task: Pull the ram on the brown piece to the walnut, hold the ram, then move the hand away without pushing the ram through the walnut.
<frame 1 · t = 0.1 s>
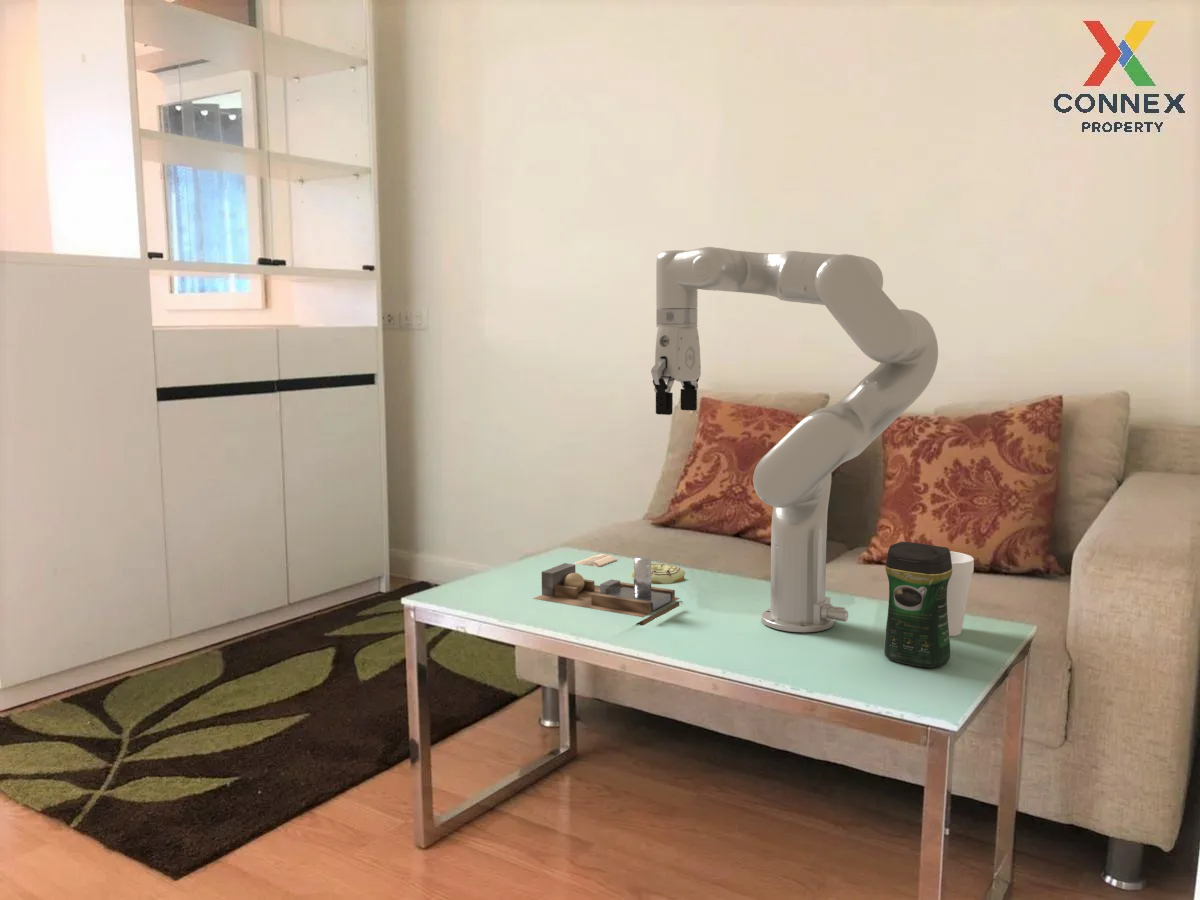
hand: (676, 412, 182), 37 cm above the table, tool pointing down, fingers open, 9 cm apart
brown piece: (606, 605, 185), on the table
newspaper: (578, 574, 213), on the table
coffee jar: (916, 660, 154), on the table
ram: (633, 579, 181), point 6 cm above the table, slide at 0.0 cm
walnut: (574, 593, 189), point 1 cm above the table, touching brown piece
foam cup: (941, 631, 168), on the table
decorated donut: (658, 585, 201), on the table
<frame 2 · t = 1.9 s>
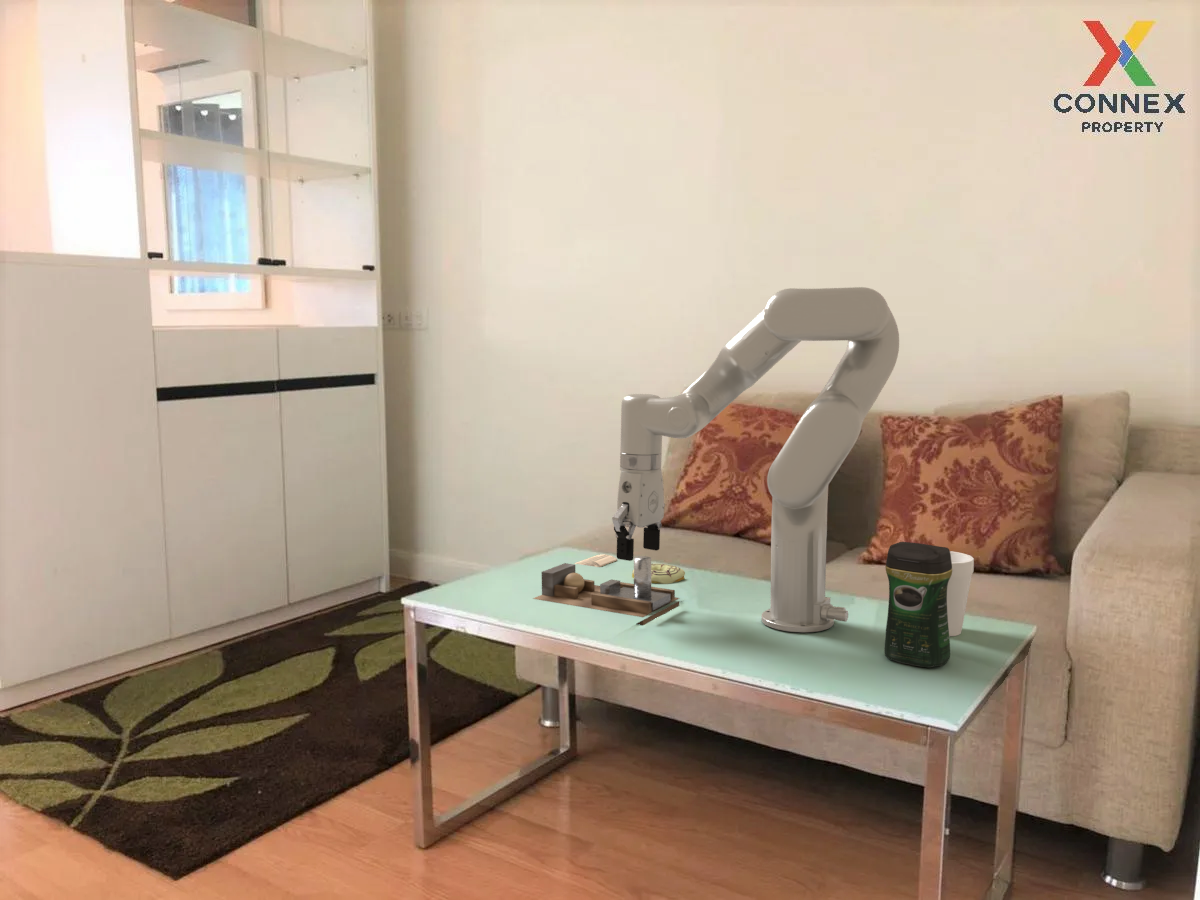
hand: (638, 554, 180), 11 cm above the table, tool pointing down, fingers open, 9 cm apart
nothing on the table moved.
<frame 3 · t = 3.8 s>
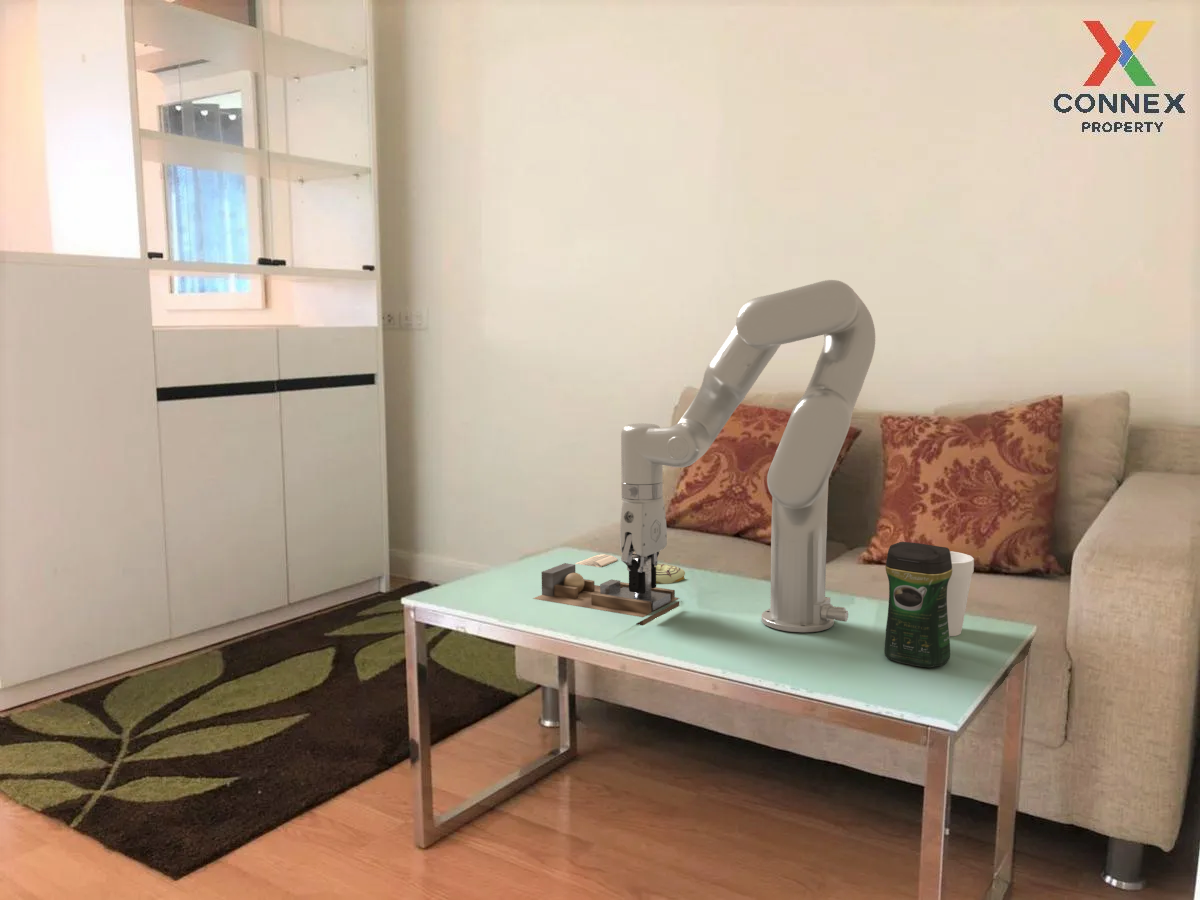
hand: (642, 588, 181), 4 cm above the table, tool pointing down, fingers closed on ram, 3 cm apart
ram: (633, 579, 181), point 6 cm above the table, slide at 0.0 cm, touching gripper
everything else where it was.
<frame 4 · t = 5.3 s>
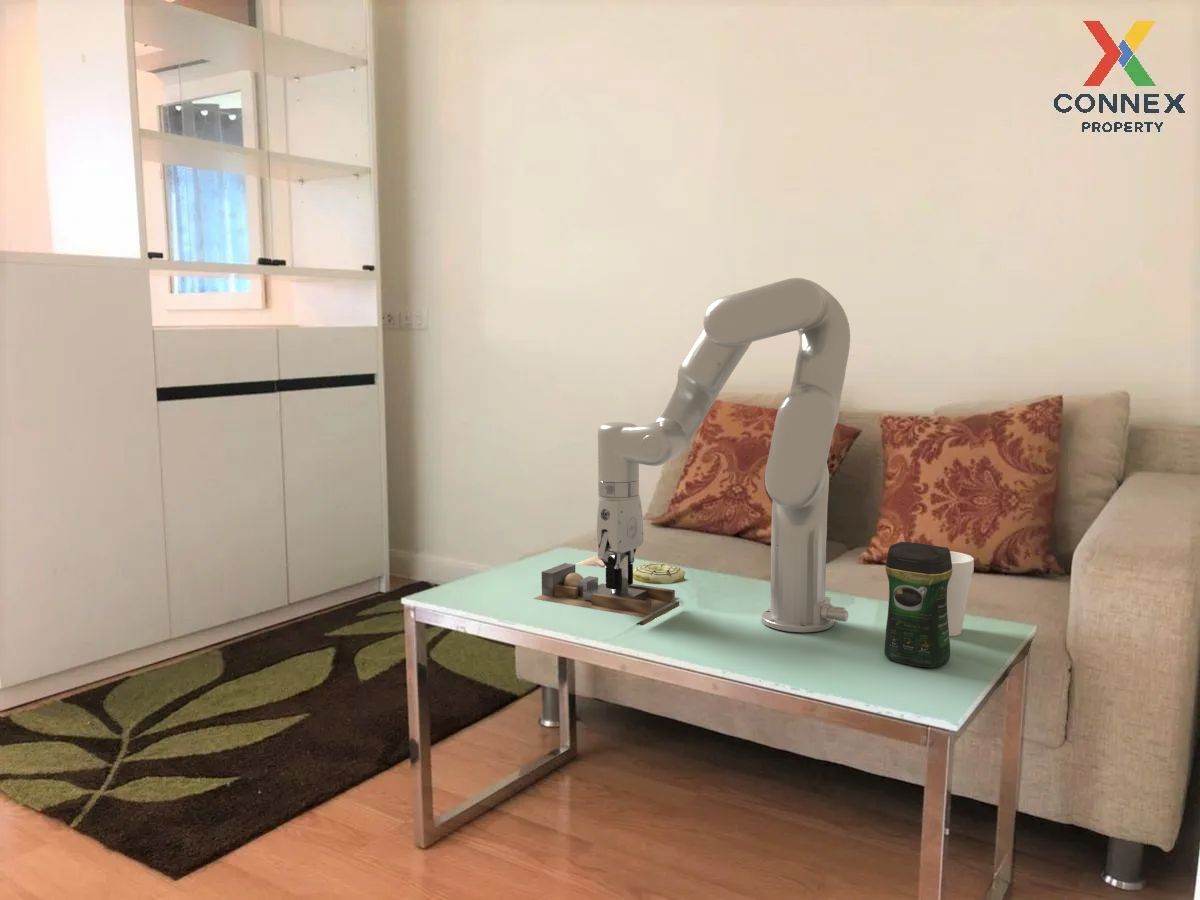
hand: (619, 585, 183), 4 cm above the table, tool pointing down, fingers closed on ram, 3 cm apart
ram: (610, 576, 184), point 6 cm above the table, slide at 5.0 cm, touching gripper
everything else where it was.
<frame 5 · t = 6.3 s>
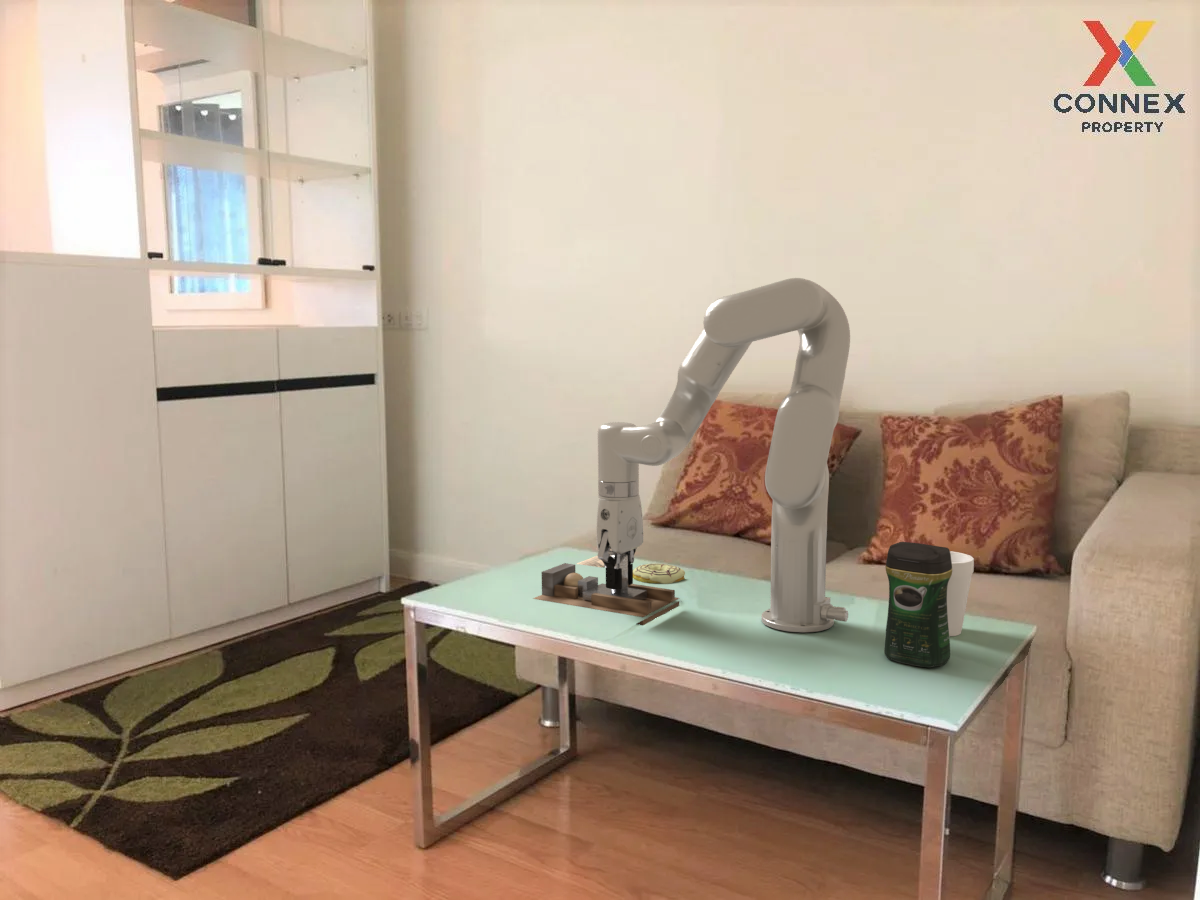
hand: (619, 585, 183), 4 cm above the table, tool pointing down, fingers closed on ram, 3 cm apart
ram: (610, 576, 184), point 6 cm above the table, slide at 5.0 cm, touching gripper
everything else where it was.
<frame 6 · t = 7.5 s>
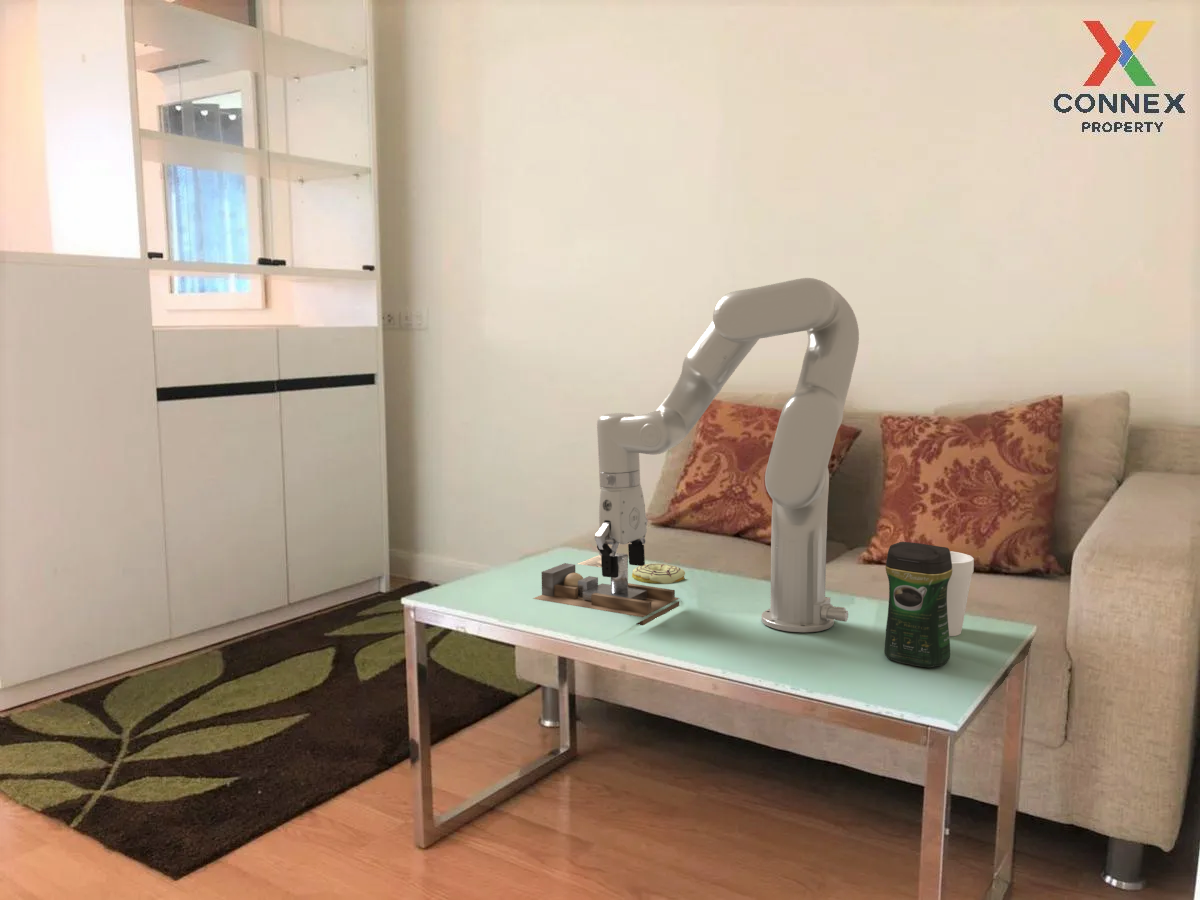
hand: (623, 570, 182), 7 cm above the table, tool pointing down, fingers open, 9 cm apart
ram: (610, 576, 184), point 6 cm above the table, slide at 5.0 cm
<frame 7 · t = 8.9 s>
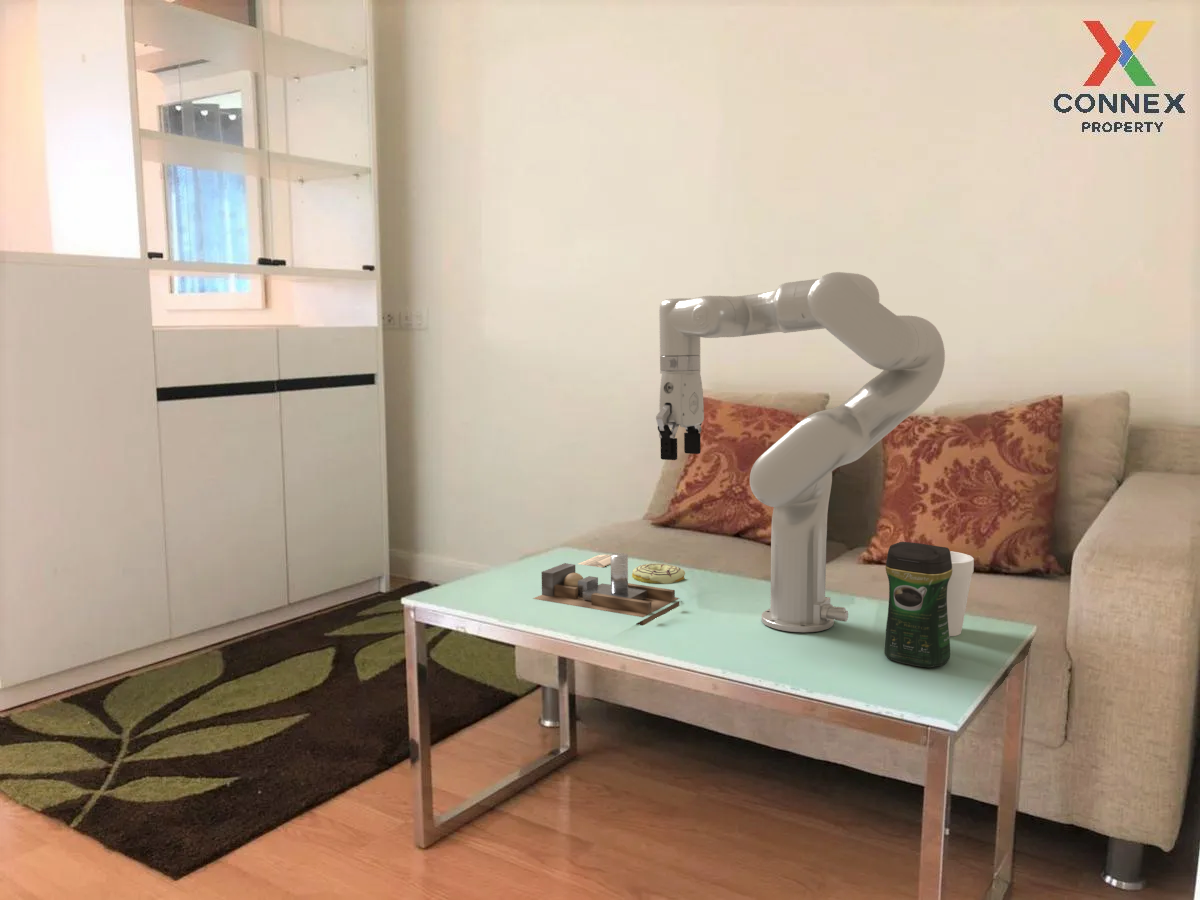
hand: (680, 456, 184), 28 cm above the table, tool pointing down, fingers open, 9 cm apart
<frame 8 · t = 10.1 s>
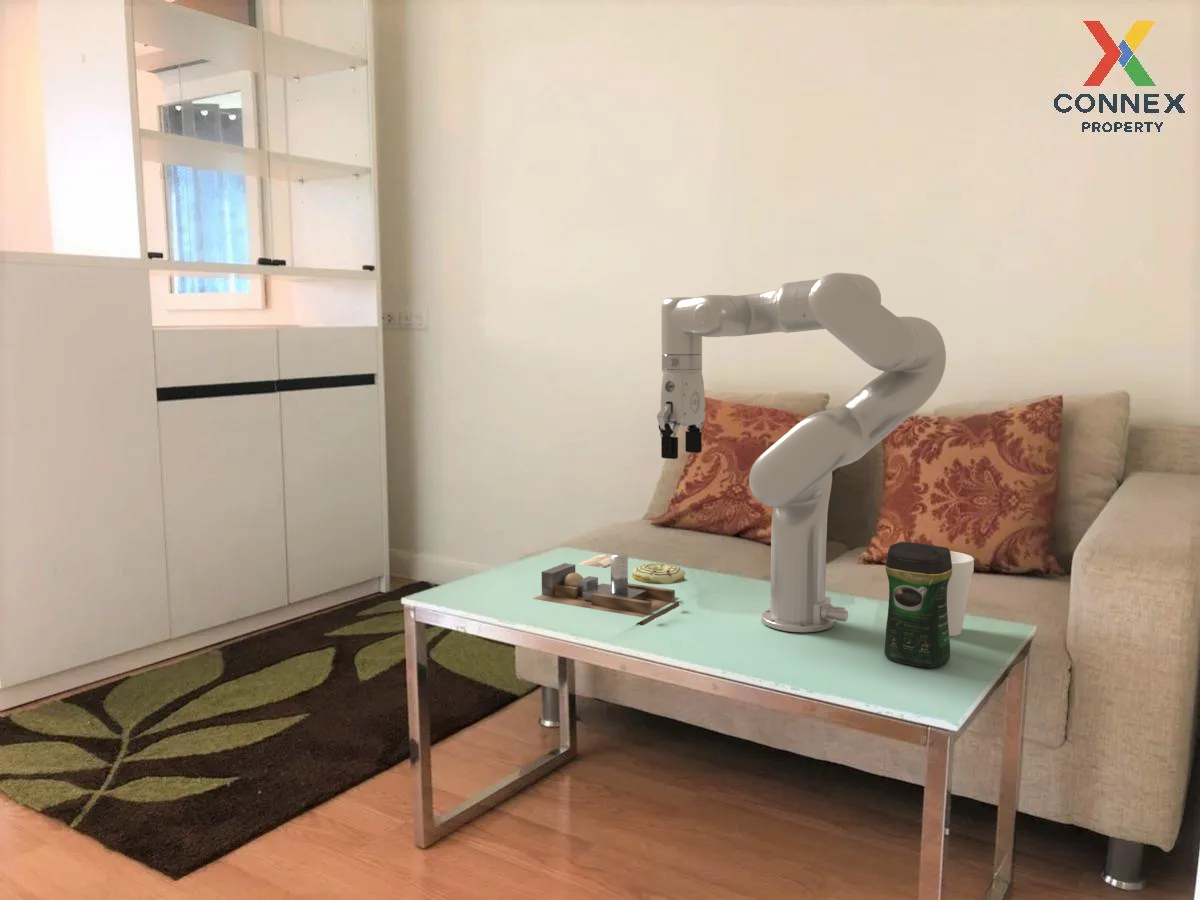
hand: (681, 455, 184), 28 cm above the table, tool pointing down, fingers open, 9 cm apart
at the end: ram slide at 5.0 cm; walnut moved 0.0 cm from its start; the gripper is holding nothing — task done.
